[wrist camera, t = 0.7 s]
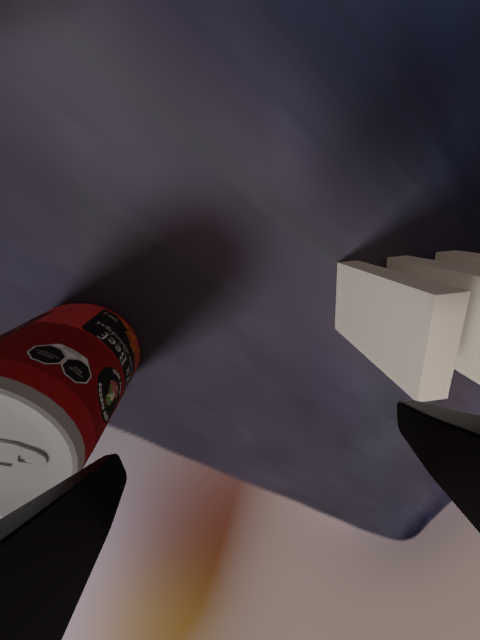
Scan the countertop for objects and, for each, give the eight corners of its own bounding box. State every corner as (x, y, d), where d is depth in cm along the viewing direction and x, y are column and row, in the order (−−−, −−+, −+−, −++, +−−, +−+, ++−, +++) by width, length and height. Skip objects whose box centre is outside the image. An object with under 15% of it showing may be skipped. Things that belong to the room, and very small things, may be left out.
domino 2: (380, 323, 23) (492, 392, 14) (387, 257, 21) (523, 285, 12) (398, 321, 23) (522, 388, 14) (406, 255, 21) (558, 281, 12)
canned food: (147, 384, 23) (92, 513, 13) (51, 387, 23) (-89, 525, 12) (137, 299, 21) (57, 376, 10) (27, 299, 20) (-175, 382, 10)
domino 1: (334, 328, 23) (416, 402, 13) (337, 262, 21) (435, 295, 11) (353, 326, 23) (447, 398, 14) (357, 260, 21) (470, 291, 12)
